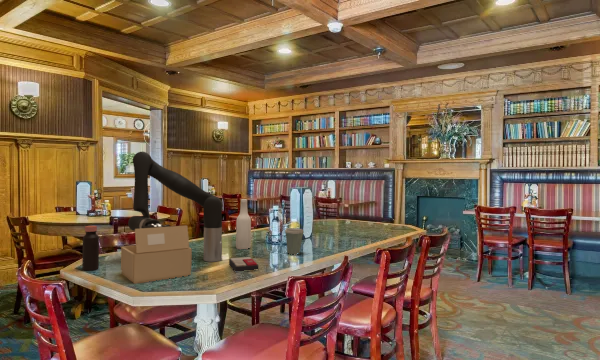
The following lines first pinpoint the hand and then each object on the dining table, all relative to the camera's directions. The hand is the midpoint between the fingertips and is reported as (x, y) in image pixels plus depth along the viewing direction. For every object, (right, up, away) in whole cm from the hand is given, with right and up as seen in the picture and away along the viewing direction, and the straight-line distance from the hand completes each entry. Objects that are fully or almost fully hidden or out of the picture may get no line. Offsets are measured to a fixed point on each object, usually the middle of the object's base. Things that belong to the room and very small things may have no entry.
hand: (161, 230), depth 174 cm
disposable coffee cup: (+56, -21, +57) cm, 83 cm away
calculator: (+32, -21, +22) cm, 44 cm away
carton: (-5, -20, +6) cm, 22 cm away
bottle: (-38, -20, +14) cm, 45 cm away
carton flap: (+1, -3, -1) cm, 4 cm away
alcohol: (+25, -20, +72) cm, 79 cm away
